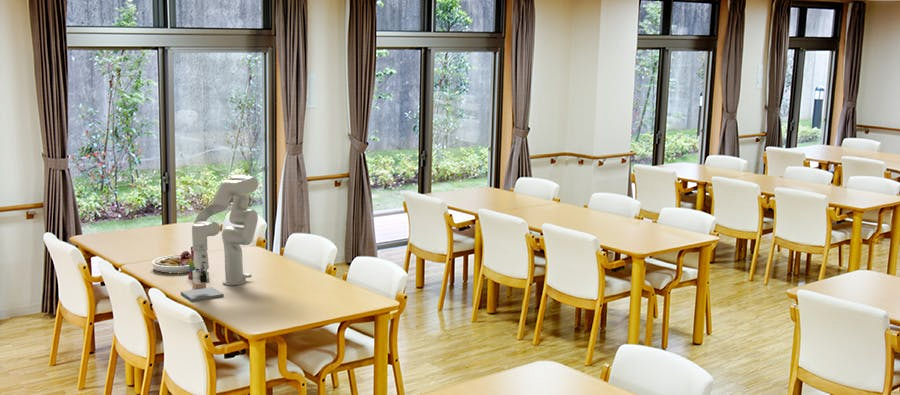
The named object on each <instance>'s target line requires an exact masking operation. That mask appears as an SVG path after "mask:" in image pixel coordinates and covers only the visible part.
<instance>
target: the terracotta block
mask: <svg viewBox="0 0 900 395" xmlns="http://www.w3.org/2000/svg"><path fill="white" fill-rule="evenodd" d="M191 281H192V282H191V283H192V284H191V286H192V290H194V289H201V288H207V283H205V284H196V283H194V282H193V279H191Z"/></svg>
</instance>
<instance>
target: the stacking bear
mask: <svg viewBox="0 0 900 395" xmlns="http://www.w3.org/2000/svg"><path fill="white" fill-rule="evenodd" d="M190 254H192V257H191V258H190V262H189V269H190V272H189V274H188V276H187V277H188V279H189V278H193V271H195V267H194V251H193V245H192V246H191V247H190ZM201 269H204V268H201Z"/></svg>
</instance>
